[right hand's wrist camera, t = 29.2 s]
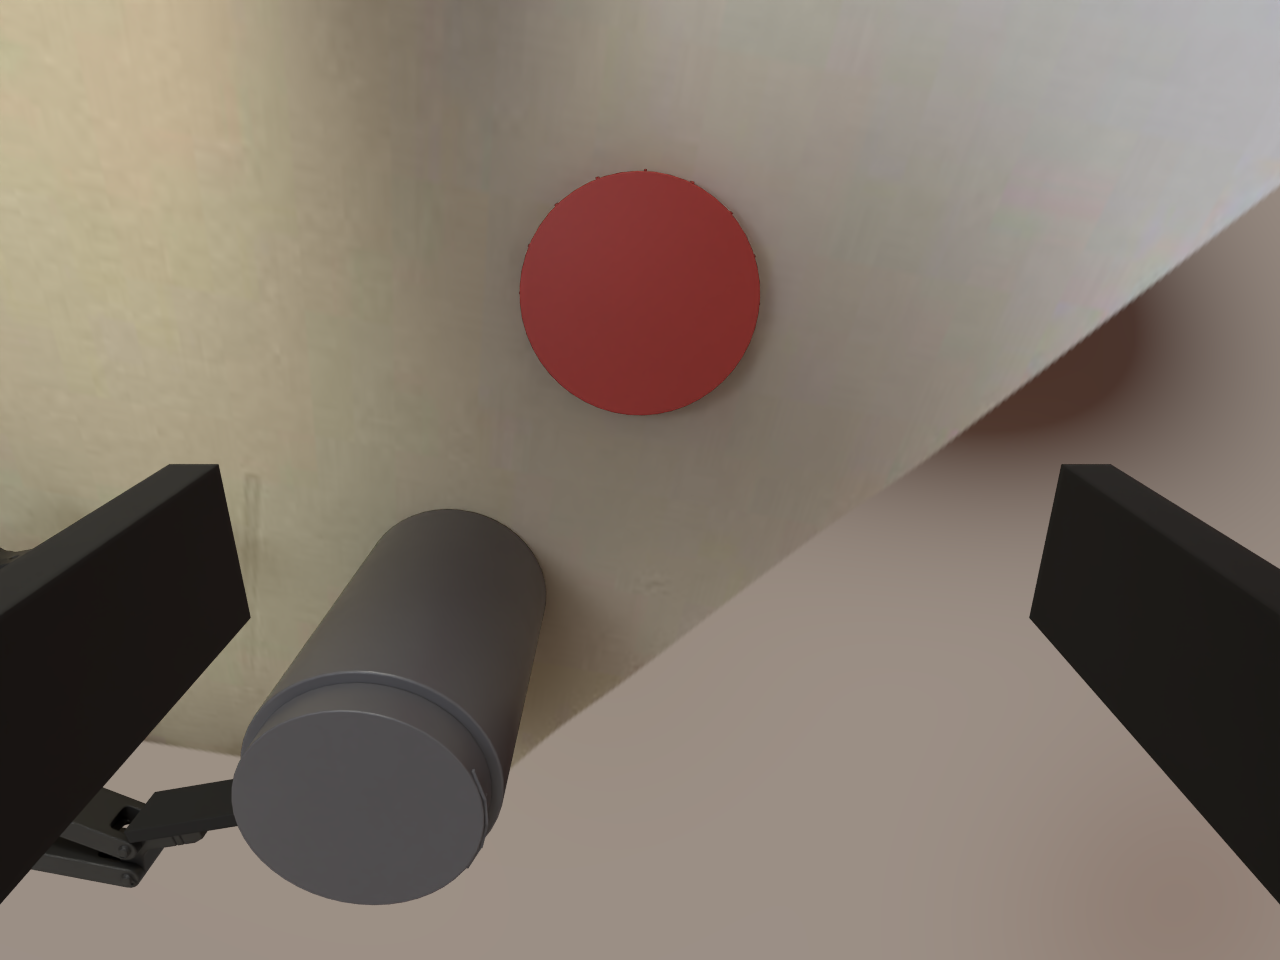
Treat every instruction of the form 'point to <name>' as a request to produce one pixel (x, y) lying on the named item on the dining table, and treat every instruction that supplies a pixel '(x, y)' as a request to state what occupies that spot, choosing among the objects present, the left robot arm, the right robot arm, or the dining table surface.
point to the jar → (397, 716)
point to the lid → (639, 293)
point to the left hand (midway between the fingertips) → (210, 688)
